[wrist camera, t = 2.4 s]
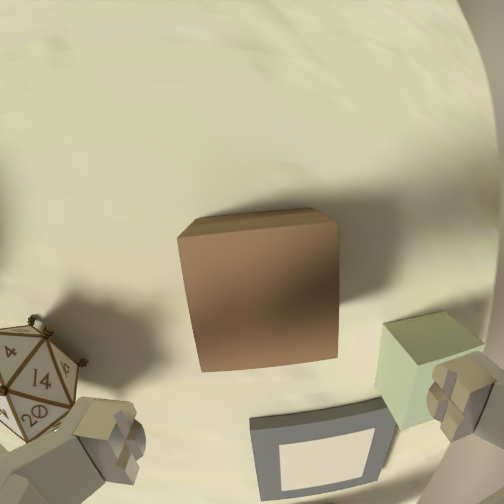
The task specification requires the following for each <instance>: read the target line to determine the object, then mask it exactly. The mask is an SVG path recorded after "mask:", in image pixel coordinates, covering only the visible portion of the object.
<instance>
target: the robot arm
mask: <svg viewBox="0 0 504 504" xmlns="http://www.w3.org/2000/svg"><path fill="white" fill-rule="evenodd" d="M432 379H433V380H434V383H433V384H432V386H431V387H430V388H429V389H428V394H427V398H426V399H427V408H428V410H429V413H430V415H431V416H432V417H433V419H435V420H438V421H440V422H441V427H440V429H441V430H442V431H443V433H444V434H445V435H446V437H447V438H448V440H449V441H450V442H453V441H456V440H458V439H460V438H463V437H465V436H467V435H470V434H472V433H474V435H476V436H478V437H480V438H482V439H484V440H486V441H489V442H491V443H493V444H495V445H497V446H499V447H501V448H503V449H504V370H503V369H501V368H500V367H499V366H498V365H497V364H495V363H494V362H493V361H492V360H490V359H489V358H488V357H487V356H486V355H484V354H483V353H482V352H480V351H473V352H471V353H468V354H466V355H463V356H461V357H458V358H455V359H452V360H449V361H446V362H443V363H440V364H437V365H436V366H435V368H434V369H433V373H432ZM136 414H137V412H136V410H135V407H134V405H133V403H131V402H129V401H120V400H110V399H101V398H90V397H81V398H78V400H77V401H76V403H75V404H74V406H73V407H72V408H71V410H70V411H69V413H68V414H67V416H66V417H65V419H64V420H63V422H62V423H61V425H60V426H59V428H58V429H57V431H56V432H54V431H51V432H49V433H47V434H45V435H43V436H41V437H39V438H37V439H35V440H33V441H31V442H29V443H27V444H25V445H23V446H21V447H19V448H17V449H15V450H13V451H10V452H8V453H6V454H4V455H2V456H0V504H81V503H82V502H83V501H84V500H86V499H87V498H88V497H89V496H90V495H92V494H93V493H94V492H95V491H96V490H97V489H99V488H100V487H101V486H102V485H103V484H104V483H105V481H107V482H114V483H121V484H128V485H134V483H135V479H136V476H137V473H138V470H139V466H138V464H137V462H136V461H137V460H138V459H139V458H141V457H142V456H143V454H144V451H145V444H146V437H145V433H144V429H143V427H142V424H140V423H139V422H138V421H137V420H135V419H134V418H135V416H136ZM477 504H504V487H503V488H501V489H500V490H498V491H497V492H496V493H494V494H492V495H490V496H489V497H487V498H486V499H484V500H482V501H481V502H479V503H477Z"/></svg>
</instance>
